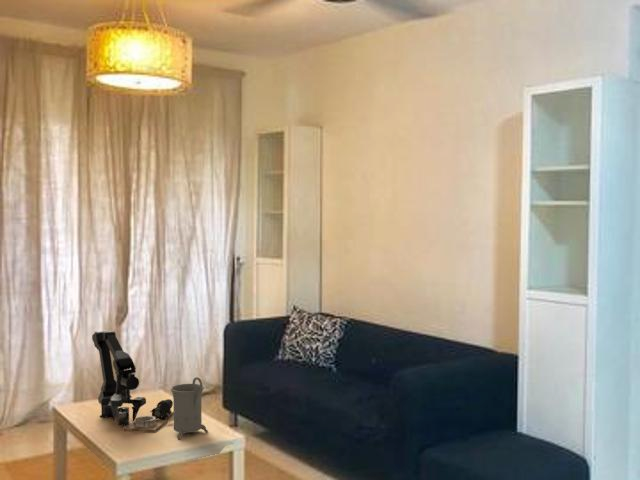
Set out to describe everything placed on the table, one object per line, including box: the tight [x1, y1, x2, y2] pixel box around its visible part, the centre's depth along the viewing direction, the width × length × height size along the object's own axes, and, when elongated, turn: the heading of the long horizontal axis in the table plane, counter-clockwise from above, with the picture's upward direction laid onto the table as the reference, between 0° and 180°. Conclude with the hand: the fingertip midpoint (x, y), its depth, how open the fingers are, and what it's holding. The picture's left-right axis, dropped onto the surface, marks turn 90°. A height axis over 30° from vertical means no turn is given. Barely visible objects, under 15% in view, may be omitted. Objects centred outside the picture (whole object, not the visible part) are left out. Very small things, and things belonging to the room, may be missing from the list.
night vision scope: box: [150, 398, 174, 420], centre depth 302 cm, size 8×18×10 cm
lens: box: [117, 406, 130, 427], centre depth 293 cm, size 5×5×7 cm
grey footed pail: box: [170, 376, 209, 441], centre depth 279 cm, size 19×15×25 cm
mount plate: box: [123, 415, 168, 433], centre depth 289 cm, size 14×14×4 cm
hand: (123, 420), depth 293 cm, fingers open, 9 cm apart
